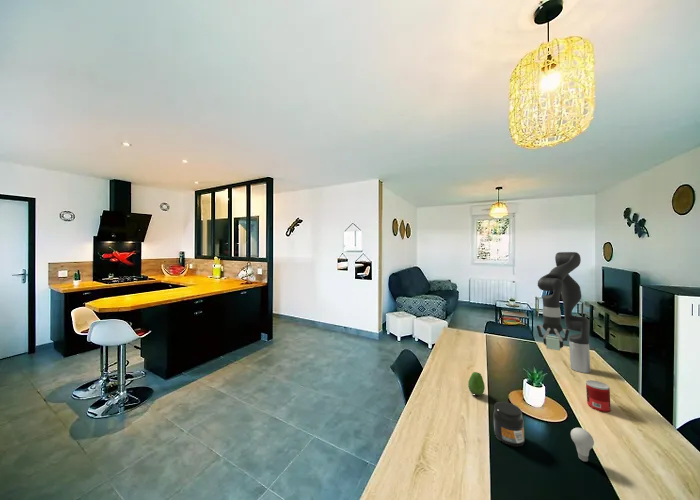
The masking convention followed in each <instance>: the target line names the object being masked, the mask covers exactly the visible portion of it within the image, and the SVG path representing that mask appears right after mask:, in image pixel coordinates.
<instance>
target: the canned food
mask: <svg viewBox="0 0 700 500" xmlns="http://www.w3.org/2000/svg"><path fill="white" fill-rule="evenodd" d="M585 386H586V387H585V389H586V390H585V391H586V403H587V406H588V407H589V408H591V409H592V410H595V411H598V412H602V413H610V412H611V408H612V407H611V390H610V386H609V385H608V384H606V383H605V382H601V381H597V380H591V379H590V380H586V381H585Z"/></svg>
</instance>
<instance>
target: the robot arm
mask: <svg viewBox="0 0 700 500" xmlns="http://www.w3.org/2000/svg"><path fill="white" fill-rule="evenodd" d="M554 259H555V267H553V268H552V269H551V270H550V271H549V273H547V274H544V275H543V276H541V277H540V278H539V280H537V287H538V289H540V290H541V291H544V292H545V291H546V292H553V293H552V294H546V295H543V296H542V319H543V322H542V323H543V324H542V325H540V324H537V325H536V329H537V333H538V334H537V335H538V336H539V337H540V338H542V339H543V345H545V347H546V337H547V335H548V336H549V335H553V336H555V335H556V337H558V338H559V340H560V349H562V348H564V342H567V341H568V343H569V344H568V345H569V362H570V364H569V365H570V368H571V370H573V371H576V372H579V373H583V374H589V373H591V371H592V370H591V355H590V353H591V352H590V351H591V350H590V335H589V333H590V330H589V329H590V327H589V326H590V323H589V322H590V321H589V319H588V318H587V317H585V316H580V315H573V314H572V313H573V309H574V308H575V307H576V306H577V304H579V302H580V301H581V300H582V290H581V287H580V286H581V285H579V283H578V282H577V281H576V280H575V279H574V278H572V276H571V275H570V273H571V272H573V271H574V270H575V269H577V268H578V267H579V266H580V265H581V262H582V261H581V255H580V254H579V253H578V252H577V251H563V252H562V251H560V252H557V253H555V257H554ZM561 298H562V303H563V314H564V324H565V327H566V328H564V327H563V326H562V314H561V309H560V308H561V307H560V299H561ZM542 330H545V332H544V334H543V333H542ZM570 330H571V331H576V332H580V333H579V334H571V335H569V334H570ZM562 331H563V333H564V337H563V336H562V334H561V332H562Z"/></svg>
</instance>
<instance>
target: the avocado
mask: <svg viewBox="0 0 700 500" xmlns="http://www.w3.org/2000/svg"><path fill="white" fill-rule="evenodd" d="M467 385H468V390H469V392H470V394H472V395H473V394H475V395H481V396H482V395H483V394H484V392H485V383H484V379H483V376H482V374H481V373H480V372H478V371H473V372H472V373H471V375H470V377H469V380H468V384H467ZM475 395H474V396H475Z"/></svg>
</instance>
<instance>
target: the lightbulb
mask: <svg viewBox="0 0 700 500" xmlns="http://www.w3.org/2000/svg"><path fill="white" fill-rule="evenodd" d="M570 438H571V440H572V442H573V443H574V445H575V448H576V451H577V455H578V456H577V457H578V459H580V460H581V461H582V462H588V461H589V456H590V451H591V449H592V448H593V447H594V444H595V441H594V440H595V439H594V437H593V436H592V434H591V433H590V432H589V431H587V430H586V429H584V428H582V427H575V428H573V429H571V430H570Z"/></svg>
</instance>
